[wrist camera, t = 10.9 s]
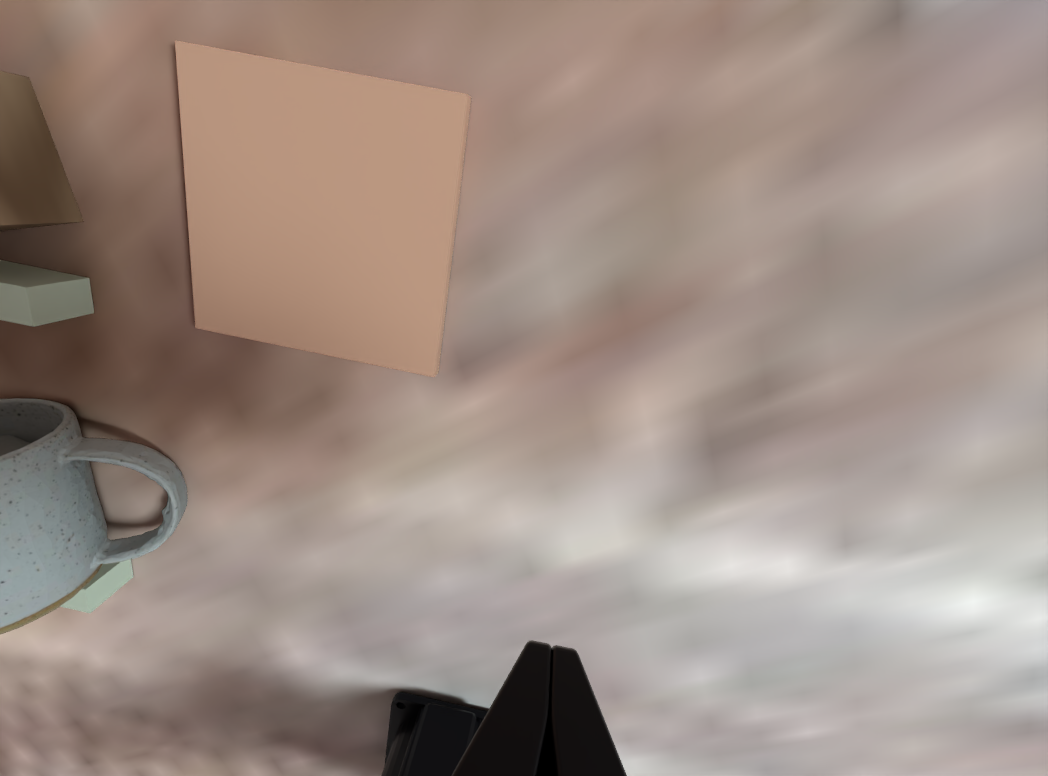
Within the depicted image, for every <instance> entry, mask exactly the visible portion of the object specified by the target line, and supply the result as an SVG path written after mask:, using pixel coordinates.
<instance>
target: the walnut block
mask: <svg viewBox="0 0 1048 776" xmlns="http://www.w3.org/2000/svg"><path fill="white" fill-rule="evenodd" d="M76 222H84V221H83V218H82V216H81V213H80V210H79V208H78V205H77V202H76V200H75V197H74V195H73V192H72V189H71V187H70V184H69V181H68V179H67V176H66V173H65V171H64V168H63V166H62V163H61V160H60V158H59V155H58V152H57V150H56V147H55V145H54V142H53V139H52V137H51V134H50V131H49V129H48V126H47V124H46V121H45V118H44V116H43V113H42V110H41V108H40V105H39V102H38V100H37V97H36V95H35V92H34V89H33V87H32V84H31V81H30V79H29V77H25V76H20V75H16V74H11V73H7V72H3V71H0V231H3V230H12V229H21V228H30V227H40V226H49V225H58V224H67V223H76Z"/></svg>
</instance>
